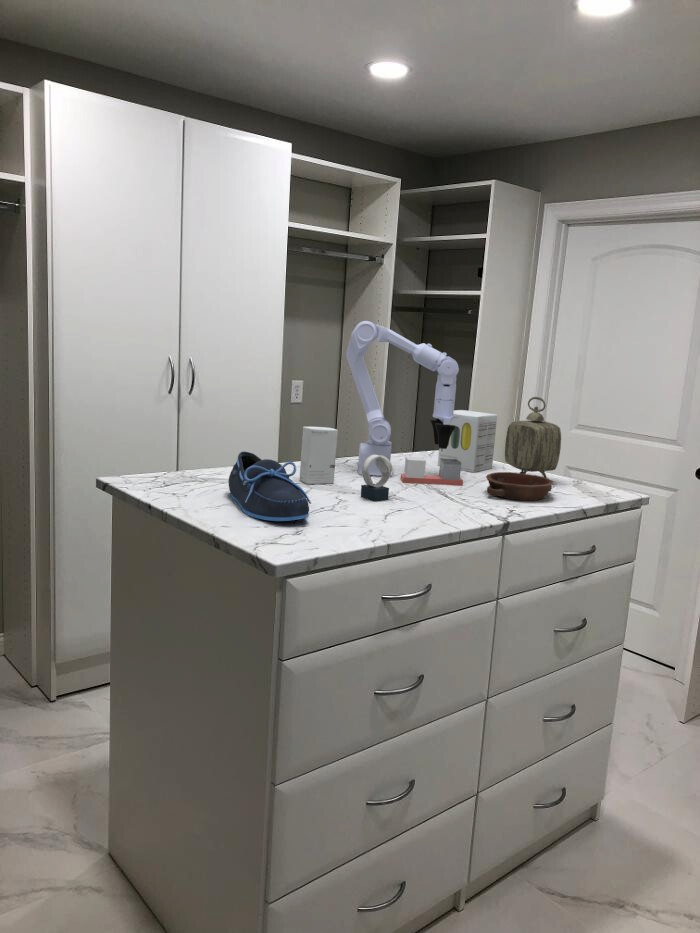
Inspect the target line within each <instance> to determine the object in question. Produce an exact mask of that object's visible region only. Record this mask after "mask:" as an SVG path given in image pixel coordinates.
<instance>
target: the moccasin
mask: <svg viewBox="0 0 700 933" xmlns="http://www.w3.org/2000/svg"><path fill="white" fill-rule="evenodd" d="M237 455H238V456H237V458H236V462H235V464H233V465H232V469H231V471H230V474H229V475H228V489H229V492H230V493H229V496H230V498H231V499H233V500H234V501H235V502H236V503H237V504H238V506H239V507H240V508H241V510H242V512H243V513H244V514H246V515H248V516H250V517H252V518H256V519H258V520H259V519H260V520H263V521H272V522H289V521H295V520H302V519H306V518H308V517H310V514H309V513H310V504H312V501H311V500H310V498H309V496H308V495H307V493H306V492H305V491H304V489H303V488H302V487H301V486H300V485H299V484H297V483H295V481H293V480H292V479H291V478H290V477H293V476H294V475H296V472H297V466H296V464H295V463H294V462H293V461H287V462H284V464H283V465H282V464H281V463H280V462H278V461H276V460H274V459H270V458H268V459H265V458H264V459H261V457H259V456H257V455H256V454H254V453H252V452H249V451H244V450H243V451H241V452H239V454H237ZM288 465H291V466H293V470H292V472H291V473H287V471H286V468H285V467H287V466H288Z"/></svg>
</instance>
